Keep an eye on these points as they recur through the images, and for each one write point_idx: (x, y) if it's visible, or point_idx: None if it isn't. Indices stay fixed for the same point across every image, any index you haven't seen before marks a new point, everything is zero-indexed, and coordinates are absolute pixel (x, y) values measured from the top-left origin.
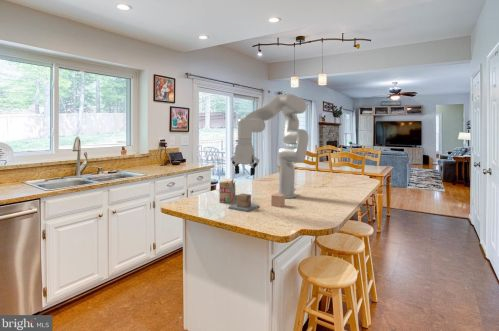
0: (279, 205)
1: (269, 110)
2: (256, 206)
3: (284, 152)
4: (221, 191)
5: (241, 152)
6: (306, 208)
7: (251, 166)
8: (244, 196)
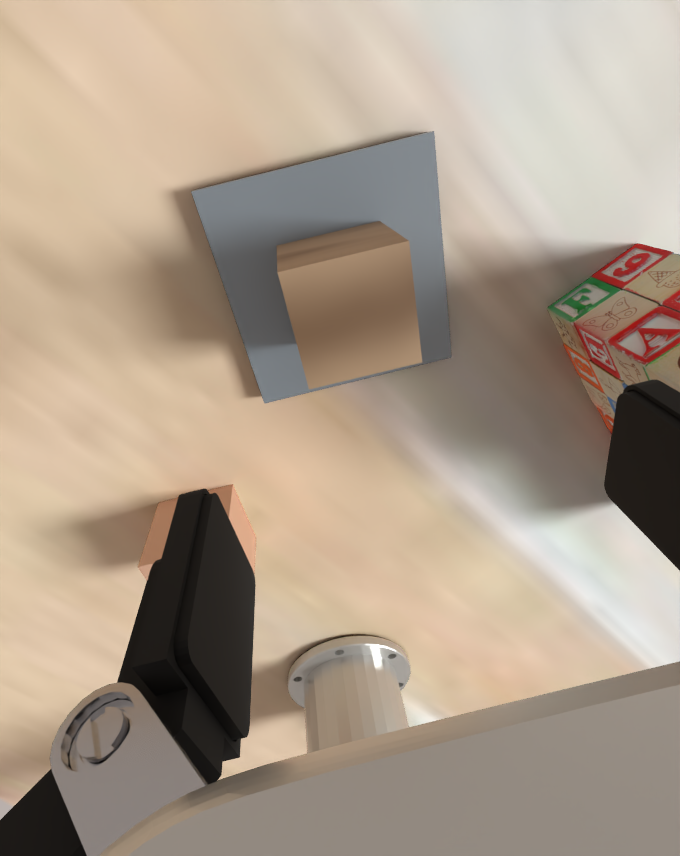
0: (162, 508)
1: None
2: (250, 362)
3: None
4: None
5: None
6: (24, 590)
7: (130, 733)
8: (292, 268)
